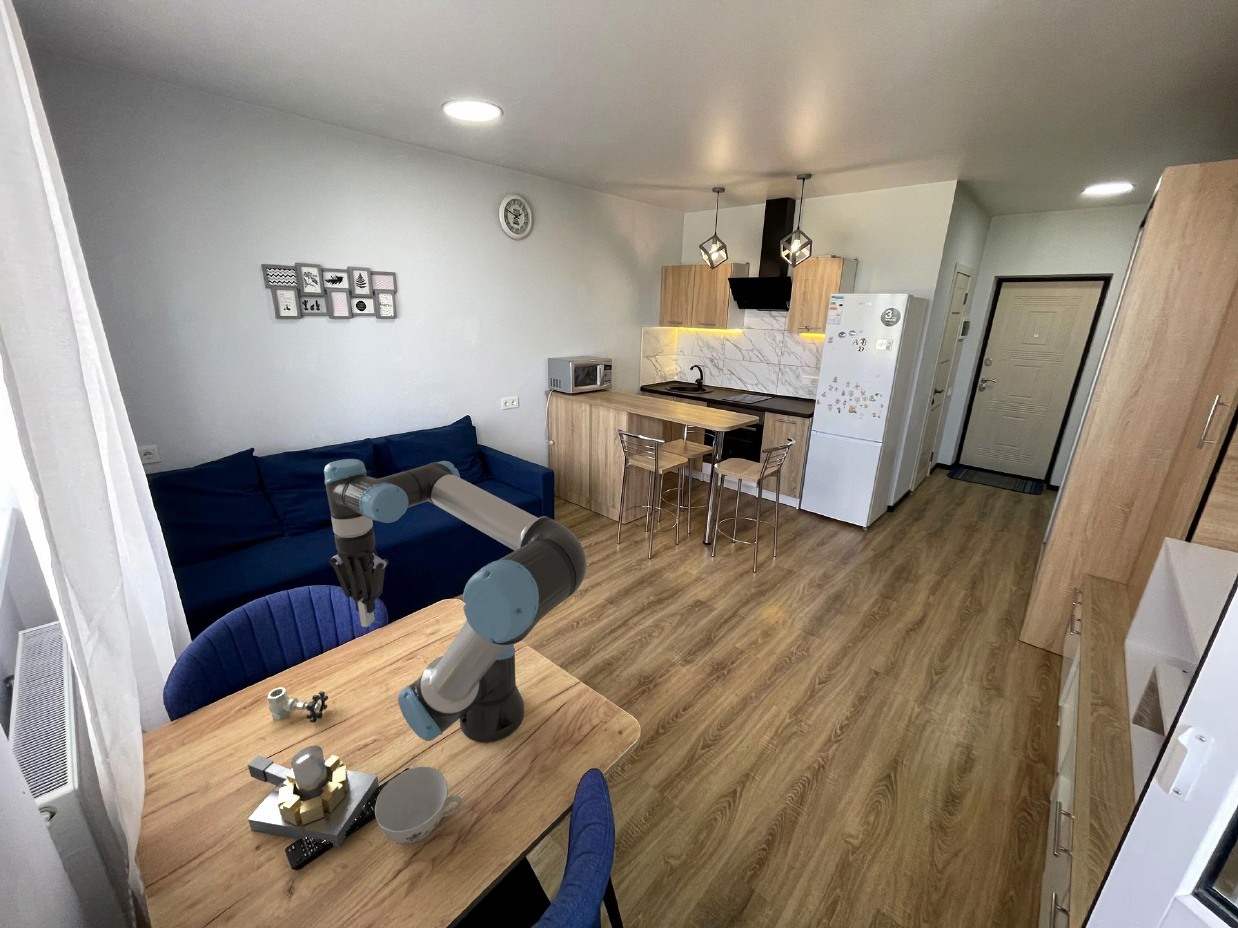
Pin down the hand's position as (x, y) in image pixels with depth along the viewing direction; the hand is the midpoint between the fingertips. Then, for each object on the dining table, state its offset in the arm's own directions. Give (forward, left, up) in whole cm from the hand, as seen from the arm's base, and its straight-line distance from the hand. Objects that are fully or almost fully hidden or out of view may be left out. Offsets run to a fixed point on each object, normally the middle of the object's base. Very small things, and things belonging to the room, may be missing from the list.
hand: (368, 622), depth 112 cm
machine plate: (-3, +25, -24) cm, 35 cm away
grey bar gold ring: (+2, +24, -21) cm, 32 cm away
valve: (+18, +6, -25) cm, 31 cm away
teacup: (-25, +25, -25) cm, 43 cm away
